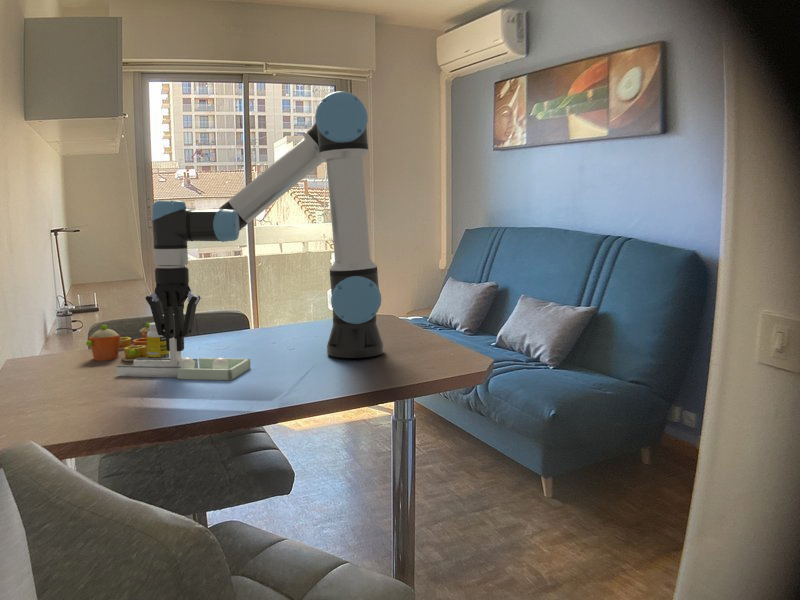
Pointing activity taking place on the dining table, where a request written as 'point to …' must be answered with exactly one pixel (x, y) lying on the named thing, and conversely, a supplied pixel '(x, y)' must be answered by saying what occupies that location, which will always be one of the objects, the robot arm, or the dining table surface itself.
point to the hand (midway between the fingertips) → (176, 364)
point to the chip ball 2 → (220, 363)
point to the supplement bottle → (156, 343)
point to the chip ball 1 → (187, 363)
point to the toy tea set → (117, 345)
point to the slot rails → (150, 368)
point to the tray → (214, 370)
